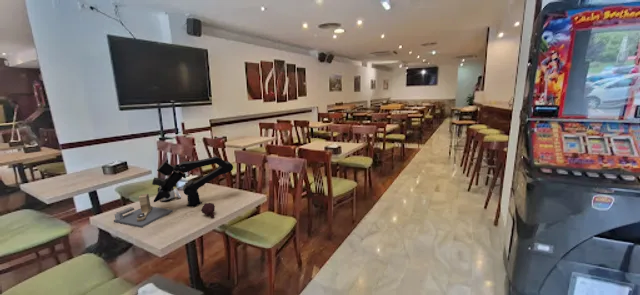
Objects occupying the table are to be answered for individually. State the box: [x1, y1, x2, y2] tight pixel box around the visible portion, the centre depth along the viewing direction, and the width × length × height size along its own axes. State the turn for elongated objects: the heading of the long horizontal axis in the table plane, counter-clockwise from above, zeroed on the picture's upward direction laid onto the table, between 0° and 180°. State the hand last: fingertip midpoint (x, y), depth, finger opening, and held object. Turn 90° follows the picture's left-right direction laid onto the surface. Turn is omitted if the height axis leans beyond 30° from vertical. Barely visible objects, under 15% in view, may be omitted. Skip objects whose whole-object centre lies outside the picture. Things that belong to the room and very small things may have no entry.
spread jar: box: [158, 186, 182, 203], centre depth 173 cm, size 12×11×12 cm
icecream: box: [200, 202, 216, 219], centre depth 150 cm, size 7×7×15 cm
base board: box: [113, 206, 174, 229], centre depth 150 cm, size 22×19×1 cm
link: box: [137, 193, 153, 221], centre depth 148 cm, size 16×4×10 cm, turn 17°
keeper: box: [113, 206, 145, 220], centre depth 147 cm, size 14×16×4 cm
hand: (154, 201), depth 153 cm, fingers closed
